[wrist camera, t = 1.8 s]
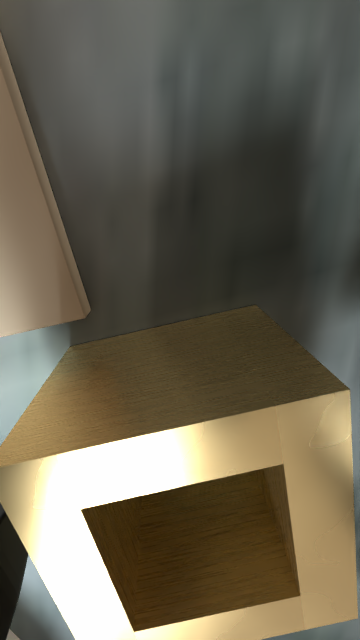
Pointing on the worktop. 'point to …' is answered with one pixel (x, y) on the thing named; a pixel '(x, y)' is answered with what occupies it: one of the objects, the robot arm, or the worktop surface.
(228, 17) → the worktop surface
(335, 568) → the brass collar
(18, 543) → the robot arm
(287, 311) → the worktop surface
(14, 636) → the bracket
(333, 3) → the worktop surface
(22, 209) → the post board
